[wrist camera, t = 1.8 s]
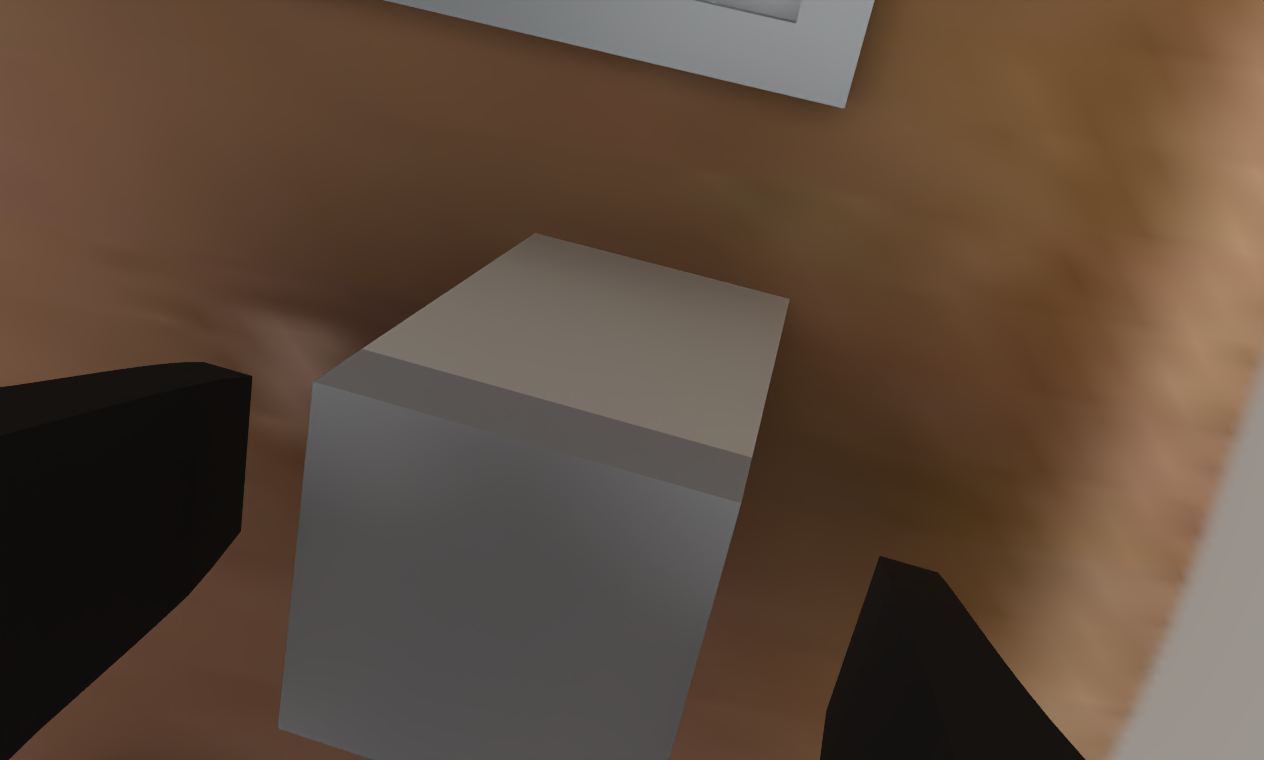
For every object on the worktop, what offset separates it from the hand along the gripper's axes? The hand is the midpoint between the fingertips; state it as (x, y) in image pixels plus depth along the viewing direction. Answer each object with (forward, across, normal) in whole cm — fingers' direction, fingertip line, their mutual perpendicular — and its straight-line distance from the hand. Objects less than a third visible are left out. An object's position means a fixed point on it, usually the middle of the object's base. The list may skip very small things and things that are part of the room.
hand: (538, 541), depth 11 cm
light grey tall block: (+5, 0, 0) cm, 5 cm away
